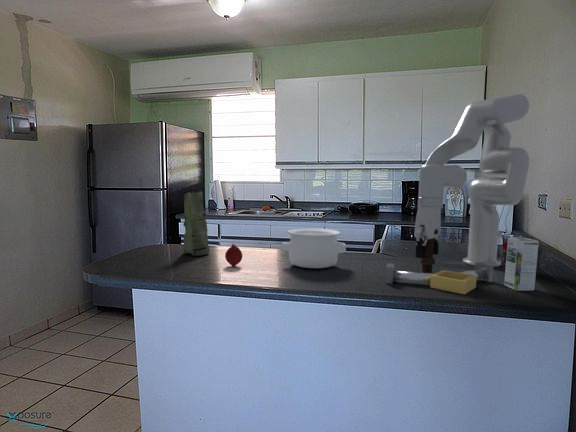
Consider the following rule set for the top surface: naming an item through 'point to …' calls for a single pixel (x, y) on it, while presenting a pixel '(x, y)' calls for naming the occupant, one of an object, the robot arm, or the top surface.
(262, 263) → the top surface
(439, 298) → the top surface
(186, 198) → the pouch
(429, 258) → the bolt
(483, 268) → the shaft
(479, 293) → the top surface
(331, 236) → the pot
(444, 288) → the yoke socket
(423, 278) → the shaft
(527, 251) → the syrup box
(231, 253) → the onion
